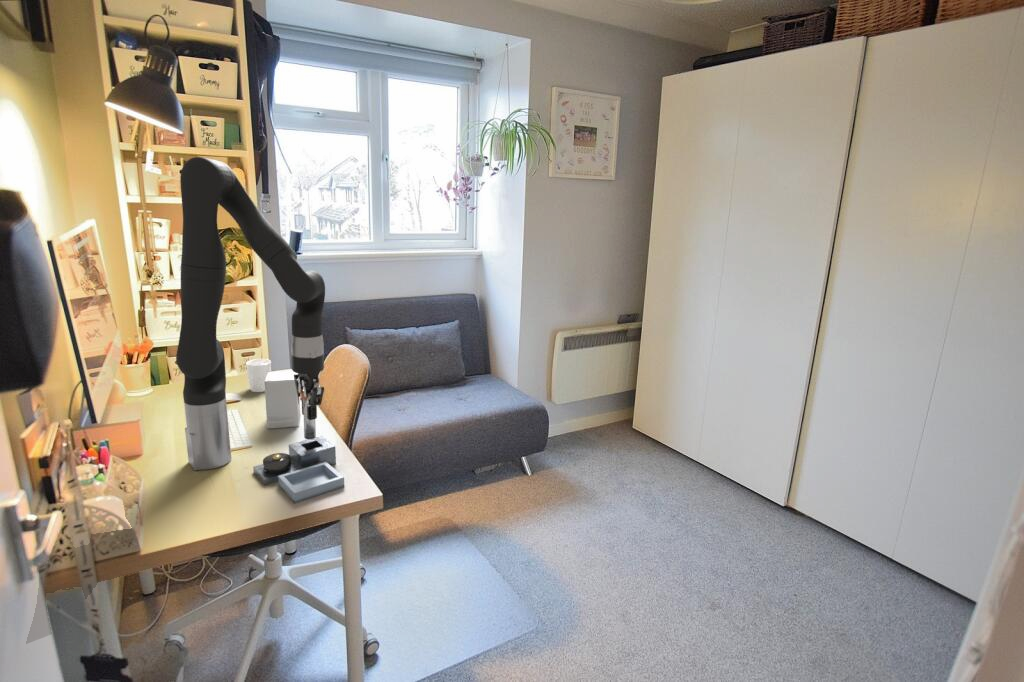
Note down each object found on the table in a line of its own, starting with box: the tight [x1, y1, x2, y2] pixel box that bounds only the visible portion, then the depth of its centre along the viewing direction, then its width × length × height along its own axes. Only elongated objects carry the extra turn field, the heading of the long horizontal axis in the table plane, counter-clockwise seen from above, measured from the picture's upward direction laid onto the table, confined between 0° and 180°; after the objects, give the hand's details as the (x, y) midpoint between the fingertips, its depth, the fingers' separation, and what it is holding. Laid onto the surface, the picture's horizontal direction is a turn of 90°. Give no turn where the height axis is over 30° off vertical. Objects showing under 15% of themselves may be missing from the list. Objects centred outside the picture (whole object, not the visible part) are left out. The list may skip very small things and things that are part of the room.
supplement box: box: [264, 370, 302, 429], centre depth 166 cm, size 9×9×15 cm
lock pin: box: [301, 392, 317, 440], centre depth 140 cm, size 4×4×12 cm
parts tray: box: [277, 462, 345, 504], centre depth 132 cm, size 12×10×2 cm
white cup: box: [245, 358, 272, 393], centre depth 192 cm, size 8×8×10 cm
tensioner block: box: [253, 435, 337, 486], centre depth 140 cm, size 18×8×5 cm, turn 132°
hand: (309, 416), depth 140 cm, fingers closed on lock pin, 2 cm apart
